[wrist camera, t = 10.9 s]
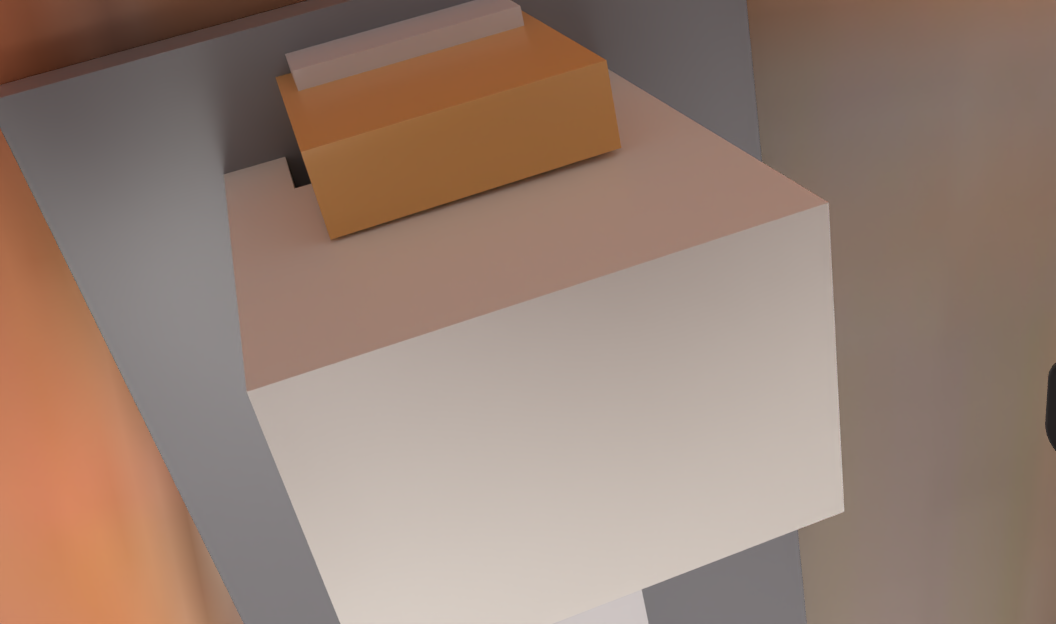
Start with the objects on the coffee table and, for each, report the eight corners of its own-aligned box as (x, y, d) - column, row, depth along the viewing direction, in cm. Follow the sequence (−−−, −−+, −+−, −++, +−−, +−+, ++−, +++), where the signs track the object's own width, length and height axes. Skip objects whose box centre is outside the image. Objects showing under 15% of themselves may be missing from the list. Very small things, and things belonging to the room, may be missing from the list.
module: (602, 66, 17) (828, 202, 11) (638, 293, 19) (844, 511, 13) (223, 174, 16) (246, 391, 10) (308, 402, 18) (369, 694, 12)
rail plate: (708, -111, 17) (881, -86, 13) (794, 670, 27) (908, 832, 23) (-2, 85, 15) (-75, 190, 11) (367, 850, 25) (403, 1063, 21)
